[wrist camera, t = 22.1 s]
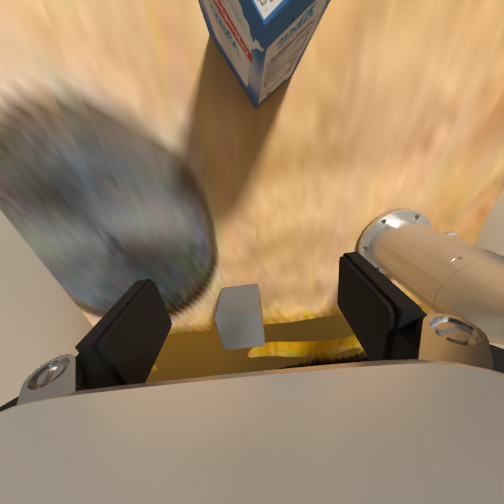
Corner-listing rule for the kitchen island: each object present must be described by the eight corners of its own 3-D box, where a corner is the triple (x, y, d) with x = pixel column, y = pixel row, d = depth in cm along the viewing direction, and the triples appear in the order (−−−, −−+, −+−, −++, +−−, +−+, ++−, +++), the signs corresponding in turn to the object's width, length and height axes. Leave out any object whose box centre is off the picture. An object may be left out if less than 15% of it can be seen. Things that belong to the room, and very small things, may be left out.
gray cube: (257, 283, 41) (259, 313, 33) (262, 312, 45) (264, 345, 37) (221, 288, 42) (214, 319, 34) (228, 316, 45) (223, 350, 37)
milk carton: (293, 75, 27) (377, -90, 9) (256, 109, 29) (265, 26, 11) (247, -11, 24) (237, -556, 6) (209, 33, 25) (103, -281, 7)
